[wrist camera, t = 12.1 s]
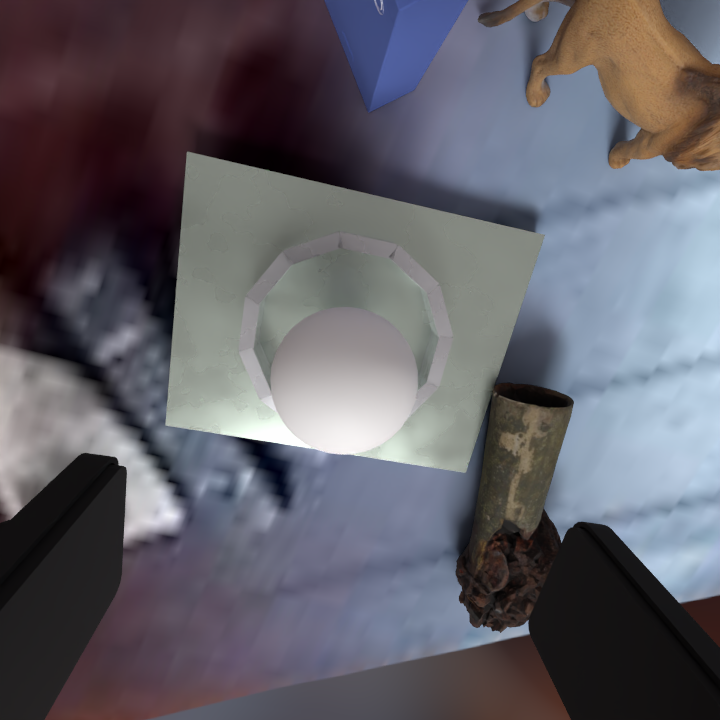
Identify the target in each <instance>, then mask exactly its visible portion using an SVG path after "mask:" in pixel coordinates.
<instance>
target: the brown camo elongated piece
mask: <svg viewBox="0 0 720 720" xmlns="http://www.w3.org/2000/svg"><path fill="white" fill-rule="evenodd" d="M573 404H574V401H573V400H572V399H571V398H570V397H569V396H567V395H564V394H562V393H559V392H557V391H554V390H550V389H546V388H542V387H538V386H533V385H527V384H513V383H501V384H498V385H495V386H494V389H493V393H492V402H491V409H490V417H489V424H488V431H487V437H486V445H485V453H484V460H483V468H482V476H481V481H480V487H479V493H478V499H477V504H476V511H475V518H474V523H473V529H472V534H471V538H470V543H469V544H468V546H467V547H466V549H465V551H464V552H463V553H462V555H461V556H460V557H459V558H458V560H457V569H456V576H457V578H458V582H459V584H460V585H461V586H462V591H461V594H460V596H459V601H460V603H463V604H464V606H466V608H467V611H468V612H469V614H470V623H471V624H472V625H473V626H474V627H476V628H478V627H480V625H482V624H483V627H485V626H487V627H491V629H492V631H495V630H496V631H500V633H501V632H502V631H503V630H505V629H506V628H507V627H518V626H521V625H523V624H525V623H526V621H528V620H529V617H530V614H531V612H532V610H533V608H534V605H535V603H536V601H537V598H538V596H539V594H540V592H541V589H542V587H543V585H544V582H545V580H546V578H547V576H548V573H549V571H550V569H551V566H552V564H553V562H554V559H555V557H556V555H557V553H558V550H559V548H560V546H561V540H560V536H559V534H558V532H557V529H556V527H555V525H554V524H553V522H552V521H551V520H550V519H549V517H548V515H547V513H546V511H545V510H544V504H545V500H546V496H547V493H548V490H549V487H550V484H551V480H552V477H553V473H554V470H555V466H556V463H557V459H558V456H559V453H560V450H561V446H562V443H563V440H564V437H565V433H566V430H567V427H568V424H569V421H570V417H571V413H572V408H573Z"/></svg>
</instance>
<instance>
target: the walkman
mask: <svg viewBox="0 0 720 720" xmlns="http://www.w3.org/2000/svg"><path fill="white" fill-rule="evenodd" d="M324 1H325V3H326V6H327V8H328V11H329V13H330V16H331V18H332V21H333V24H334V26H335V29H336V31H337V34H338V36H339V39H340V41H341V44H342V47H343V49H344V52H345V54H346V57H347V59H348V62H349V64H350V67H351V70H352V72H353V75H354V77H355V80H356V82H357V85H358V87H359V90H360V93H361V95H362V98H363V100H364V103H365V105H366V108H367V110H368V112H371V111H373V110H375V109H377V108H379V107H381V106H383V105H385V104H387V103H389V102H391V101H393V100H395V99H397V98H399V97H401V96H403V95H405V94H407V93H409V92H411V91H413V90H415V88H416V86H417V85H418V83H419V81H420V80H421V78H422V76H423V75H424V73H425V71H426V70H427V68H428V66H429V65H430V63H431V61H432V60H433V58H434V56H435V55H436V53H437V51H438V50H439V48H440V46H441V45H442V43H443V41H444V40H445V38H446V36H447V35H448V33H449V31H450V30H451V28H452V26H453V25H454V23H455V21H456V20H457V18H458V16H459V15H460V13H461V11H462V10H463V8H464V6H465V5H466V3H467V1H468V0H324Z"/></svg>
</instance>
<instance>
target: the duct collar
mask: <svg viewBox="0 0 720 720" xmlns="http://www.w3.org/2000/svg"><path fill="white" fill-rule="evenodd" d="M544 236H545V235H543V234H538V233H534V232H530V231H526V230H521V229H517V228H513V227H508V226H504V225H500V224H496V223H491V222H487V221H483V220H478V219H474V218H470V217H466V216H461V215H457V214H453V213H448V212H444V211H440V210H436V209H431V208H427V207H423V206H418V205H414V204H410V203H406V202H401V201H397V200H393V199H388V198H384V197H380V196H376V195H371V194H367V193H363V192H358V191H354V190H350V189H346V188H341V187H337V186H333V185H328V184H324V183H320V182H316V181H311V180H307V179H303V178H298V177H294V176H290V175H286V174H281V173H277V172H273V171H268V170H264V169H260V168H256V167H251V166H247V165H243V164H238V163H234V162H230V161H225V160H221V159H217V158H213V157H208V156H204V155H200V154H195V153H191V152H187V159H186V171H185V184H184V197H183V210H182V222H181V235H180V248H179V261H178V273H177V286H176V299H175V312H174V324H173V337H172V350H171V363H170V375H169V388H168V401H167V414H166V425H167V426H173V427H179V428H186V429H192V430H198V431H205V432H211V433H217V434H224V435H230V436H236V437H243V438H249V439H255V440H262V441H268V442H274V443H281V444H287V445H293V446H300V447H306V448H312V449H315V448H313V447H311V446H309V445H307V444H305V443H304V442H302V441H301V440H300V439H298V438H297V437H296V436H294V435H293V433H292V432H291V431H290V430H289V429H288V428H287V427H286V425H285V424H284V422H283V421H282V419H281V417H280V416H279V414H278V412H277V410H276V407H275V404H274V401H273V398H272V391H271V382H270V377H271V366H272V363H273V360H274V357H275V353H276V351H277V349H278V347H279V346H280V344H281V342H282V340H283V339H284V337H285V336H286V335H287V333H288V332H289V331H290V330H291V329H292V328H293V327H294V326H295V325H296V324H298V323H299V322H300V321H301V320H303V319H304V318H306V317H308V316H310V315H312V314H314V313H316V312H318V311H321V310H325V309H329V308H335V307H353V308H360V309H364V310H367V311H370V312H373V313H376V314H378V315H379V316H381V317H383V318H384V319H386V320H388V321H389V322H390V323H391V324H392V325H393V326H395V327H396V328H397V329H398V330H399V331H400V333H401V334H402V335H403V337H404V338H405V339H406V341H407V342H408V344H409V346H410V348H411V350H412V352H413V355H414V357H415V361H416V365H417V370H418V390H417V395H416V400H415V403H414V406H413V408H412V410H411V413H410V415H409V417H408V418H407V420H406V421H405V423H404V424H403V426H402V427H401V429H400V430H399V431H398V432H397V433H396V434H395V435H394V436H393V437H392V438H390V439H389V440H387V441H386V442H384V443H383V444H381V445H380V446H378V447H375V448H373V449H371V450H368V451H364V452H360V453H356V454H350V455H357V456H363V457H369V458H376V459H382V460H388V461H395V462H401V463H407V464H414V465H420V466H426V467H433V468H439V469H445V470H452V471H458V472H464V473H466V470H467V467H468V464H469V461H470V458H471V455H472V452H473V449H474V446H475V443H476V440H477V437H478V434H479V431H480V428H481V425H482V422H483V419H484V416H485V413H486V410H487V407H488V404H489V401H490V398H491V395H492V392H493V389H494V386H495V383H496V380H497V377H498V374H499V371H500V368H501V365H502V362H503V359H504V356H505V353H506V350H507V347H508V344H509V341H510V338H511V335H512V332H513V329H514V326H515V323H516V320H517V317H518V314H519V311H520V308H521V305H522V302H523V299H524V296H525V293H526V290H527V287H528V284H529V281H530V278H531V275H532V272H533V269H534V266H535V263H536V260H537V257H538V254H539V251H540V248H541V245H542V242H543V239H544Z"/></svg>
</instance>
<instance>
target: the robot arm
mask: <svg viewBox="0 0 720 720" xmlns="http://www.w3.org/2000/svg"><path fill="white" fill-rule="evenodd" d="M126 478H127V470H126V467H124V466H118V460H117V458H115V457H110V456H103V455H96V454H89V453H83V454H81V455H79V456H78V457H77V458H76V459H75V460H74V461H73V462H72V463H70V464H69V465H68V466H67V467H66V468H65V469H64V470H63V471H62V472H61V473H60V474H59V475H58V476H57V477H56V478H55V479H53V480H52V481H51V482H50V483H49V484H48V485H47V486H46V487H45V488H44V489H43V490H42V491H41V492H40V493H39V494H38V495H36V496H35V497H34V498H33V499H32V500H31V501H30V502H29V503H28V504H27V505H26V506H25V507H24V508H23V509H22V510H20V511H19V512H18V513H17V514H16V515H15V516H14V517H13V518H12V519H11V520H8V521H5V522H2V523H0V720H44V719H45V718H46V716H47V714H48V712H49V711H50V709H51V707H52V705H53V704H54V702H55V700H56V698H57V697H58V695H59V693H60V691H61V690H62V688H63V686H64V684H65V683H66V681H67V679H68V677H69V676H70V674H71V672H72V670H73V669H74V667H75V665H76V663H77V662H78V660H79V658H80V656H81V654H82V653H83V651H84V649H85V647H86V646H87V644H88V642H89V640H90V639H91V637H92V635H93V633H94V632H95V630H96V628H97V626H98V625H99V623H100V621H101V619H102V618H103V616H104V614H105V612H106V611H107V609H108V607H109V605H110V604H111V602H112V600H113V598H114V596H115V594H116V592H117V590H118V587H119V584H120V581H121V575H122V557H123V538H124V518H125V498H126ZM528 625H529V632H530V635H531V638H532V640H533V642H534V644H535V646H536V648H537V650H538V652H539V654H540V656H541V659H542V661H543V663H544V665H545V667H546V669H547V671H548V673H549V675H550V677H551V679H552V681H553V683H554V685H555V687H556V689H557V692H558V693H559V695H560V698H561V700H562V702H563V704H564V706H565V708H566V710H567V712H568V714H569V716H570V718H571V720H720V647H718V645H717V644H716V643H715V642H714V641H713V640H712V639H711V638H710V637H709V635H708V634H707V633H706V632H705V631H704V630H703V629H702V628H701V627H700V626H699V624H698V623H697V622H696V621H695V620H694V619H693V618H692V617H691V616H690V615H689V614H688V612H687V611H686V610H685V609H684V608H683V607H682V606H681V605H680V604H679V603H678V601H677V600H676V599H675V598H674V597H673V596H672V595H671V594H670V593H669V592H668V591H667V589H666V588H665V587H664V586H663V585H662V584H661V583H660V582H659V581H658V580H657V578H656V577H655V576H654V575H653V574H652V573H651V572H650V571H649V570H648V569H647V568H646V566H645V565H644V564H643V563H642V562H641V561H640V560H639V559H638V558H637V557H636V556H635V554H634V553H633V552H632V551H631V550H630V549H629V548H628V547H627V546H626V545H625V543H624V542H623V541H622V540H621V539H620V538H619V537H618V536H617V535H616V534H615V533H614V531H613V530H612V529H610V528H609V527H608V526H606V525H602V524H594V523H587V522H578V523H576V524H575V525H574V526H573V528H570V529H568V531H567V532H566V534H565V537H564V539H563V541H562V543H561V546H560V548H559V550H558V553H557V555H556V557H555V559H554V562H553V564H552V566H551V569H550V571H549V573H548V576H547V578H546V580H545V582H544V585H543V587H542V589H541V592H540V594H539V596H538V598H537V601H536V603H535V605H534V608H533V610H532V612H531V614H530V617H529V623H528Z"/></svg>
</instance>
